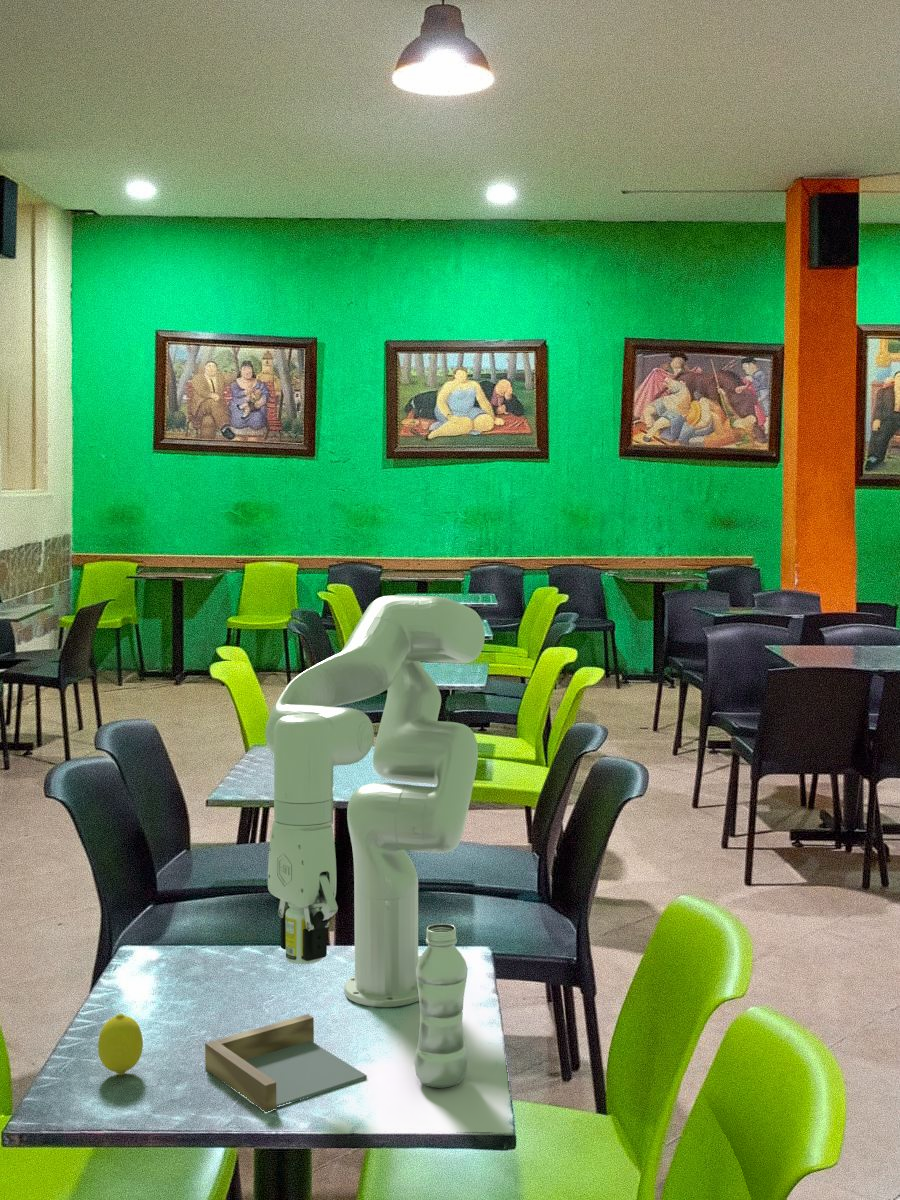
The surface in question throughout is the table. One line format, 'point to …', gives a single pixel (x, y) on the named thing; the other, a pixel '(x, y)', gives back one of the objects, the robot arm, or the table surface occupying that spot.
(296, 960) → the supplement bottle
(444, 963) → the plastic bottle
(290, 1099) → the mat
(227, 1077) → the corner walls
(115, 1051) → the lemon
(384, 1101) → the table surface
